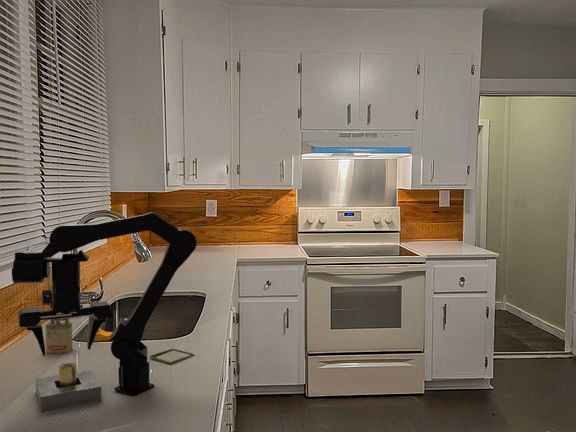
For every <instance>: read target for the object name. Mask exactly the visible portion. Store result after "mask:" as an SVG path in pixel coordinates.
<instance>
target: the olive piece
mask: <svg viewBox="0 0 576 432" xmlns="http://www.w3.org/2000/svg"><path fill="white" fill-rule="evenodd" d="M172 351H174V352H178V353H182V354H185V355H188V356H184V357H181V358H179V359H174V360H172V361H168V360H165V359H161V358H158V357H159V356H162V355H164V354H167V353H168V354H169V352H172ZM193 356H195V354H194V353H192V352H188V351H184V350H181V349H175V348H169V349H167V350H163V351H161V352H157V353H155V354H154V353H153V354H151V355H149V356H148V357H149V358H150V359H151V360H153V361H157V362H160V363H165V364H168V365H173V364H176V363H178V362H180V361H183V360H186V359H189V358H191V357H193Z"/></svg>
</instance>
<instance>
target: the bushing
mask: <svg viewBox="0 0 576 432" xmlns="http://www.w3.org/2000/svg"><path fill="white" fill-rule="evenodd" d="M76 373H77V363H76V362H64V363H60V364H59V365H58V375H59V388H63V387H69V386H74V385H76Z"/></svg>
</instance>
